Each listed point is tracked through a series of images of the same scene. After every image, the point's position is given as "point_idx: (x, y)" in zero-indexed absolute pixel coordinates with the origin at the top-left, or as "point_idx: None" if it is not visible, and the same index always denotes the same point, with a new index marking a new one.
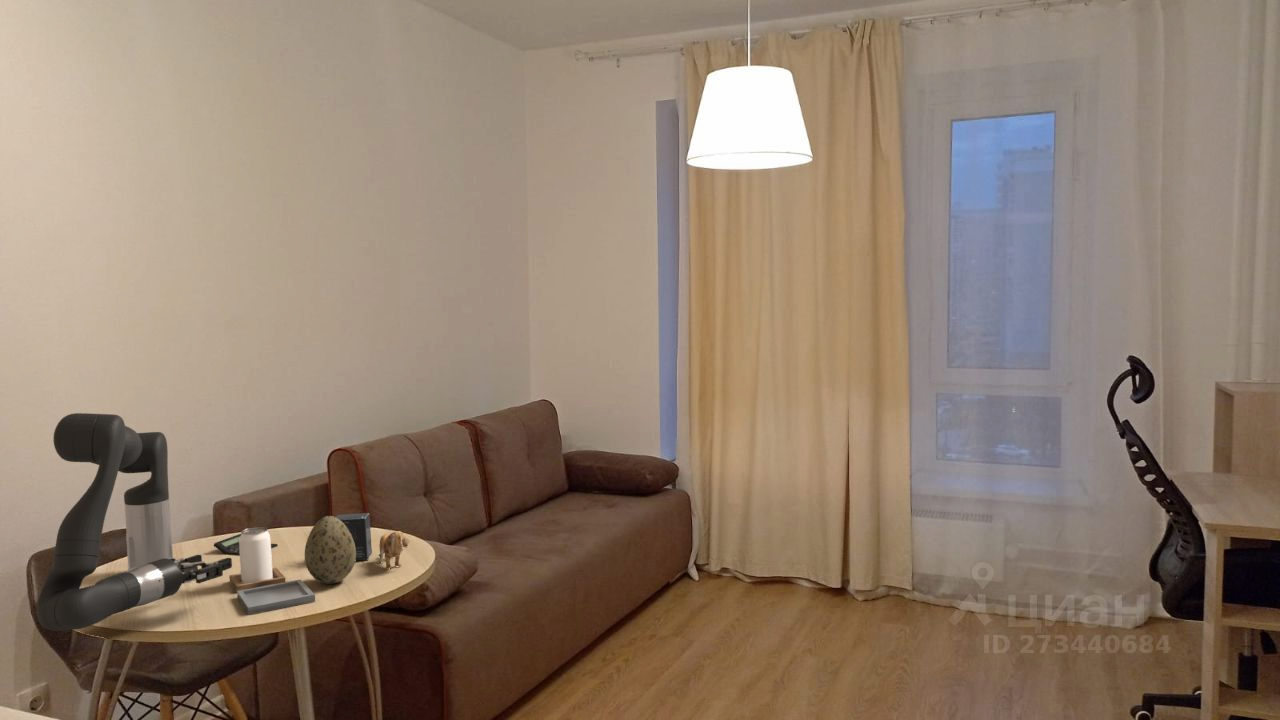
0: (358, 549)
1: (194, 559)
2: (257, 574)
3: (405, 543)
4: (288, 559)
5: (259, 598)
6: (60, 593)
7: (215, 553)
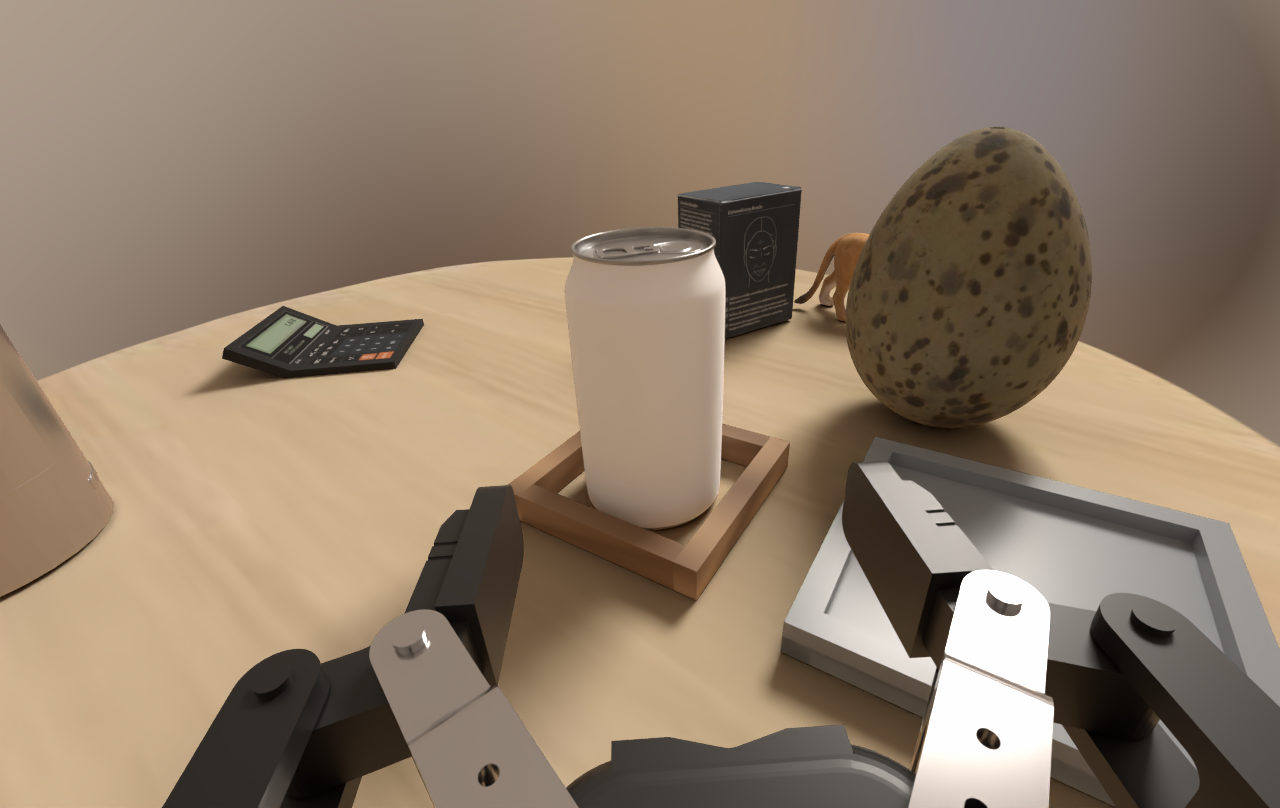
0: (777, 291)
1: (499, 553)
2: (709, 465)
3: None
4: (546, 357)
5: None
6: None
7: (239, 381)
